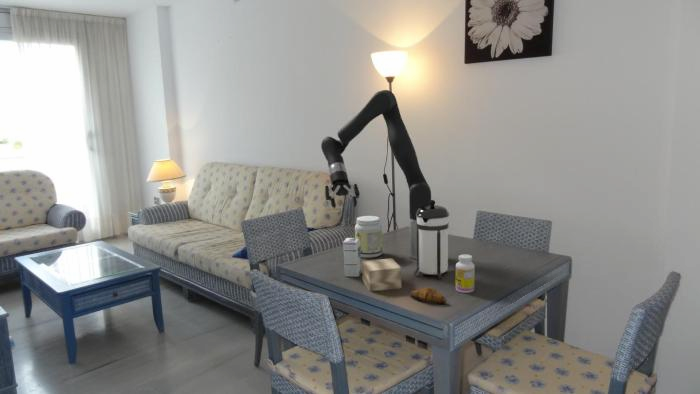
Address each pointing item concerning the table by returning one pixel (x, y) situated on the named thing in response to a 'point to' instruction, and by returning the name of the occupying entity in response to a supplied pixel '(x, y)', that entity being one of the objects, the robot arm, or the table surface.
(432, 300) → the croissant
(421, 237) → the coffee press
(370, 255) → the supplement tub
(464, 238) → the table surface
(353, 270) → the syrup box
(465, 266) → the supplement bottle
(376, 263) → the riser block
